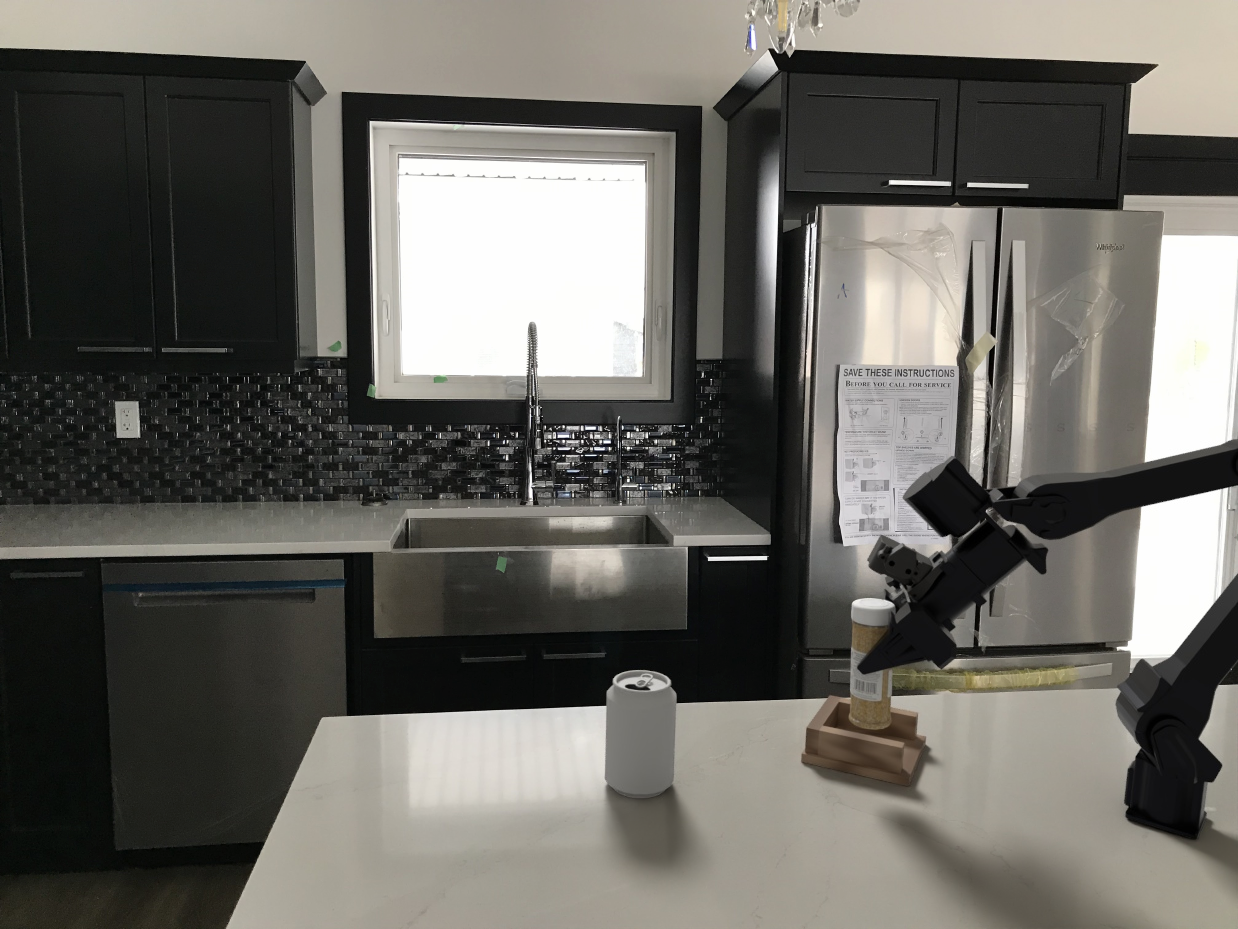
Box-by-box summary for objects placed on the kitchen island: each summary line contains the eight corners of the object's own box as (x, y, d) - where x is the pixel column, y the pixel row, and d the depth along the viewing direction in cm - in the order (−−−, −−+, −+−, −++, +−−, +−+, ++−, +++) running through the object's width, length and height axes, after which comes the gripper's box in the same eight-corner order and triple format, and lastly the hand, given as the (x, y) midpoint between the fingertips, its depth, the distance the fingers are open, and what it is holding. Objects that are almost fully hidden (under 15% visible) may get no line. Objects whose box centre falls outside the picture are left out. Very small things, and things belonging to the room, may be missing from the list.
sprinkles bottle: (899, 723, 102) (904, 603, 100) (873, 734, 99) (878, 611, 97) (865, 710, 105) (869, 594, 103) (839, 721, 102) (842, 601, 101)
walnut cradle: (925, 744, 113) (928, 712, 112) (908, 786, 102) (911, 752, 102) (826, 723, 118) (828, 693, 118) (801, 761, 108) (802, 728, 107)
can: (591, 791, 100) (593, 683, 98) (624, 763, 106) (626, 661, 105) (655, 809, 96) (658, 698, 95) (684, 779, 103) (688, 674, 101)
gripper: (908, 497, 107) (807, 586, 111) (926, 531, 89) (804, 636, 93) (978, 568, 106) (874, 655, 110) (1009, 616, 88) (884, 718, 92)
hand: (858, 663), depth 101 cm, fingers closed on sprinkles bottle, 4 cm apart
